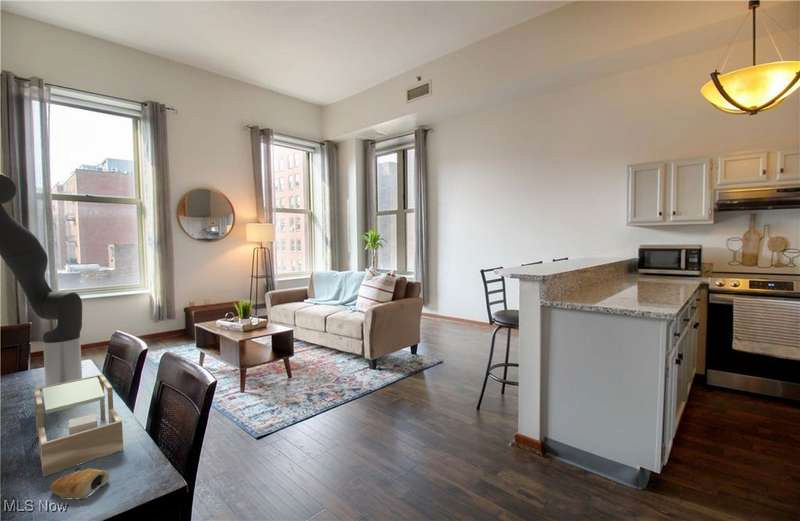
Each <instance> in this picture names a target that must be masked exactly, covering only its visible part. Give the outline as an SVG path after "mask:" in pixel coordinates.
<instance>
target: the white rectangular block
mask: <svg viewBox="0 0 800 521" xmlns="http://www.w3.org/2000/svg"><path fill="white" fill-rule="evenodd" d="M98 422H99V421H98V414H97V413H96V412H95V413H93V414H89V415H85V416H80V417H75V418H72V419H69V420H68V435H72V434H75V433H79V432H82V431H85V430H89V429H92V428H96V427H99V425H98V424H99V423H98Z"/></svg>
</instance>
